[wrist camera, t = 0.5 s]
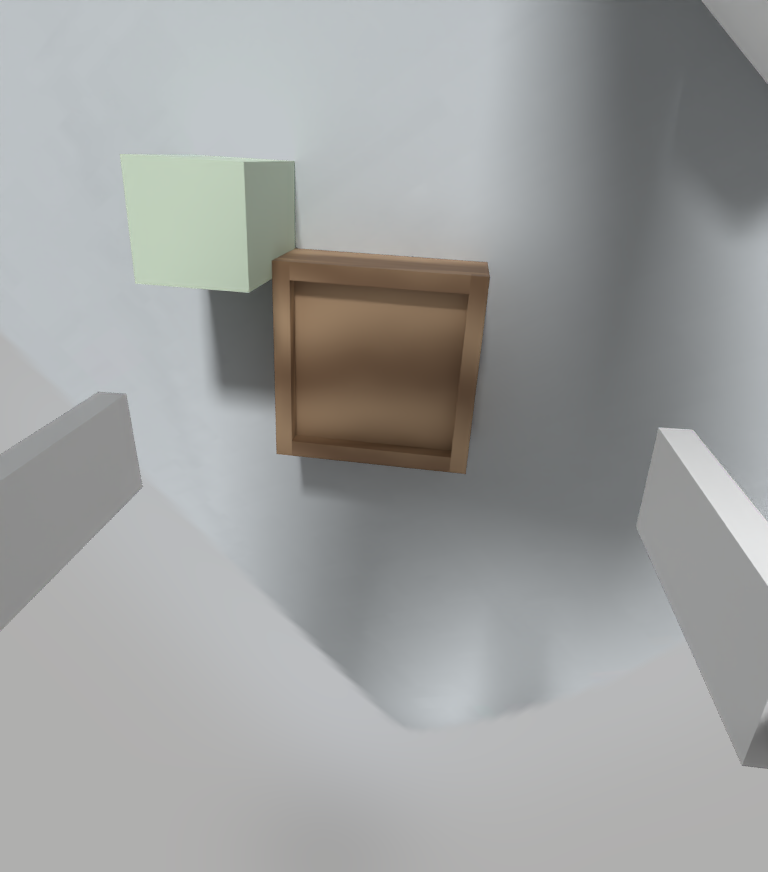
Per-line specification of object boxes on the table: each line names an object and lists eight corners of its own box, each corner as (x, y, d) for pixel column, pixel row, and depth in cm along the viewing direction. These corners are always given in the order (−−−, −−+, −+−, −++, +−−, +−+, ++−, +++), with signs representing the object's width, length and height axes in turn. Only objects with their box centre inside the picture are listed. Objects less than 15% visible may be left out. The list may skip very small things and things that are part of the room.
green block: (197, 155, 37) (120, 154, 28) (294, 161, 36) (243, 161, 28) (204, 257, 39) (135, 283, 31) (295, 264, 39) (249, 292, 30)
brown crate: (295, 248, 38) (271, 260, 34) (487, 262, 37) (489, 277, 32) (296, 422, 43) (276, 453, 39) (465, 440, 42) (465, 473, 38)
